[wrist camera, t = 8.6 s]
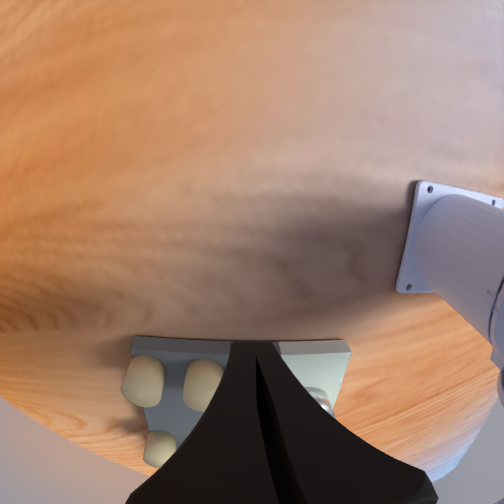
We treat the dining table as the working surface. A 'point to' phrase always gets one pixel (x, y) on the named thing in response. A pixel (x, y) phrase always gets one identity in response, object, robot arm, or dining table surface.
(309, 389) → the steel nut
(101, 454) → the dining table surface
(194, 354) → the board
